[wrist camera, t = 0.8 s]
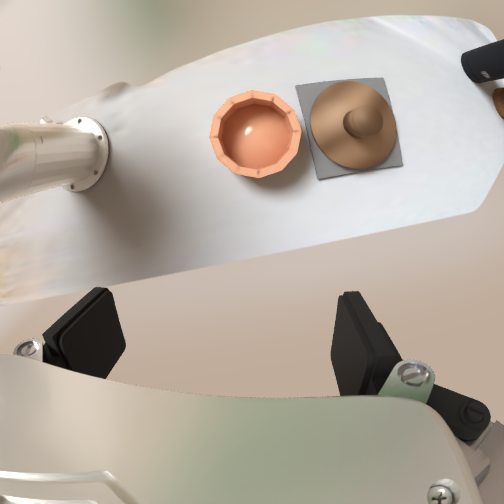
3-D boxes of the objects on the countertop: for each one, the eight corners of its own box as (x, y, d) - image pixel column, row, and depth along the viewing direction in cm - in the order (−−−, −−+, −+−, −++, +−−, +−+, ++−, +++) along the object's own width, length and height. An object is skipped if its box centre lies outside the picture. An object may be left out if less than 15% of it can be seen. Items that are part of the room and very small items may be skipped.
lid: (290, 124, 36) (296, 118, 30) (347, 66, 32) (360, 54, 26) (356, 186, 38) (372, 192, 32) (407, 128, 35) (428, 126, 29)
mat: (317, 178, 39) (318, 179, 38) (295, 86, 34) (295, 85, 34) (401, 164, 37) (402, 165, 37) (382, 78, 33) (383, 77, 32)
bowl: (201, 141, 37) (193, 139, 33) (251, 84, 34) (250, 75, 30) (260, 190, 39) (260, 194, 35) (311, 133, 37) (318, 130, 32)
